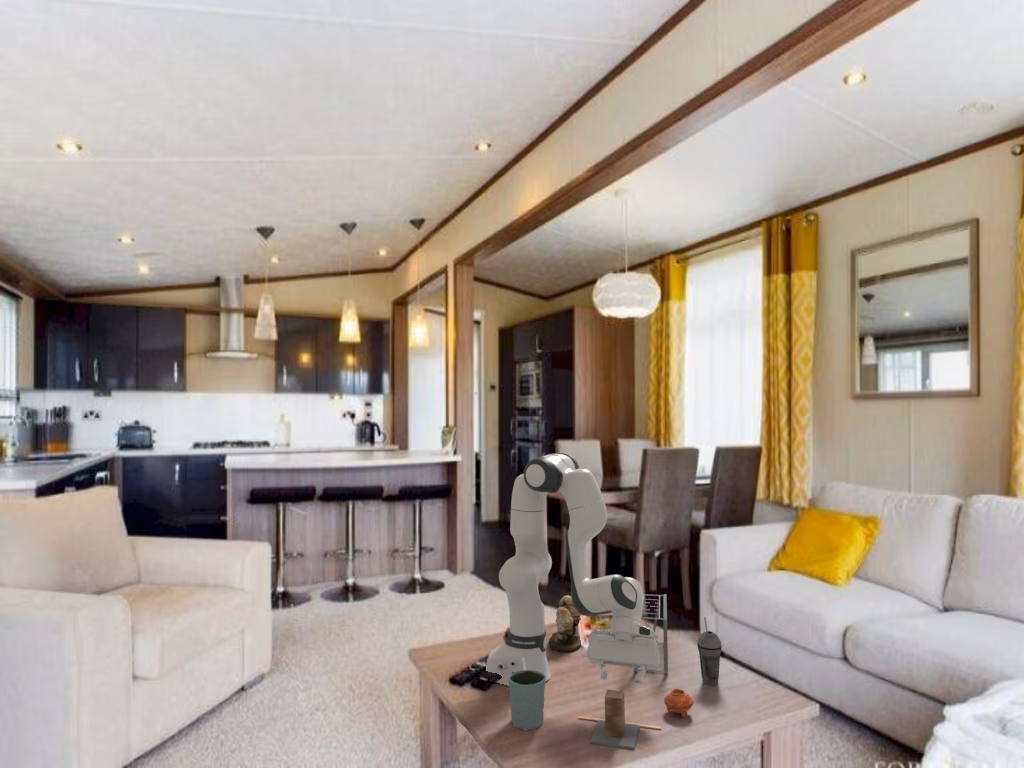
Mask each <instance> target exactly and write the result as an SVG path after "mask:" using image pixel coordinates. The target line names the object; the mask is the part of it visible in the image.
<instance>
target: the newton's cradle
mask: <svg viewBox="0 0 1024 768" xmlns="http://www.w3.org/2000/svg"><path fill="white" fill-rule="evenodd" d="M645 596H646V597H647V596H648V597H658V599H657V603H656V604H657V605H656V606H655V605H651V607H654V608H655V607H656V609H655V614H654V613H652V612H648V611H649V609H647V605H646V603H647V604H649V602H646V601H645V600H646V599H645ZM667 596H668V595H667V594H666V593H664V594H647V593H646V594H645V593H643V612H642V613H645V614H642V615H641V619H643V621H644V626H645V627H647V628H648V627H649V628H650V629H652V628H653V629H652V630H654V632H655V635H656V643H657V644H663V665H664V666H663V670H664V671H663V670H649V669H646V673H649V672H651V673H660V674H662V673H663V674H664V675H668V674H669V663H668V662H669V660H668V659H669V656H668V655H669V653H668V651H669V650H668V645H669V643H668V607H667V606H668V603H667V602H668V601H667V598H668V597H667ZM661 597H663V599H662V600H663V601H662V603H663V605H662V606H663V610H662V613H663V614H662V618H661ZM648 600H650V601H655V598H654V599H651V598H648V599H647V601H648ZM648 614H649V615H650V614H651V615H655V616H654V617H649V615H648ZM649 620H654V621H653V626H652V628H651V624H650V623H648V622H650V621H649ZM658 620H661V621H663V622H662V623H663V625H662V626H663V630H662V631H663V642H661V641H659V642H658V633H656V629H657V625H658V624H657V623H658ZM633 669H634V670H633V671H634V672H635V673H638V672H641V670H640V668H633Z"/></svg>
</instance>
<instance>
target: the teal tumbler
mask: <svg viewBox="0 0 1024 768" xmlns="http://www.w3.org/2000/svg"><path fill="white" fill-rule="evenodd" d="M508 680H509V686H508V688H509V694H510V695H509V701H510V702H509V703H510V713H511V714H510V715H511V716H510V717H511V723H513V724H514V725H515V726H516V727H515V726H514V725H513V724H512V725H513V726H514V727H515V728H517V727H518V728H517V729H519V728H521V729H520V730H524V729H531V730H535V729H538V728H539V727H541V726H543V723H544V716H545V714H544V713H545V712H544V707H545V689H546V682H545V680H546V677H545V675H544V674H543V673H541V672H538V671H533V670H521V671H517V672H514V673H512V674H510V675H509V677H508Z"/></svg>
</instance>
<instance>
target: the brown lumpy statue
mask: <svg viewBox="0 0 1024 768" xmlns="http://www.w3.org/2000/svg"><path fill="white" fill-rule="evenodd" d="M558 606H559V607H558V608H557V610H556V615H555V617H556V618H555V623H556V627H557V629H556V631H557V632H553V633H552V635H551V637H549V638H548V639H549V640H548V646H549V647H550V648H551V650H552V651H556V652H558V653H573V652H576V651H578V650H579V649H580V648H582V645H581V640H580V637H581V636H580V635H579V634H578V633H577V627H578V626H579V624H580V621H581V620H582V618H581V615H582V614H581V613H580V612H578V611H577V610H576V609H575V607H574V606H573V604H572V600H571V595H564V596H562V598H561V599H560V600H559V605H558Z"/></svg>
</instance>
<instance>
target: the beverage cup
mask: <svg viewBox="0 0 1024 768" xmlns="http://www.w3.org/2000/svg"><path fill="white" fill-rule="evenodd" d="M703 620H704V626H705V628H704V629H705V631H703V632H702V633H700V635H699V636H698V640H697V650H698V654H699V663H700V664H699V665H700V670H701V671H700V672H701V679H702V684H703V685H704V686H706V687H710V688H711V687H714V688H715V687H717V686H718V685H719V678H720V661H721V652H722V648H723V646H722V641H721V638H720V637H719V636H718V634H717V633H715V632H713V631H711V630H710V631H709V630H708V625H707V619H706V616H704V617H703Z"/></svg>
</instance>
